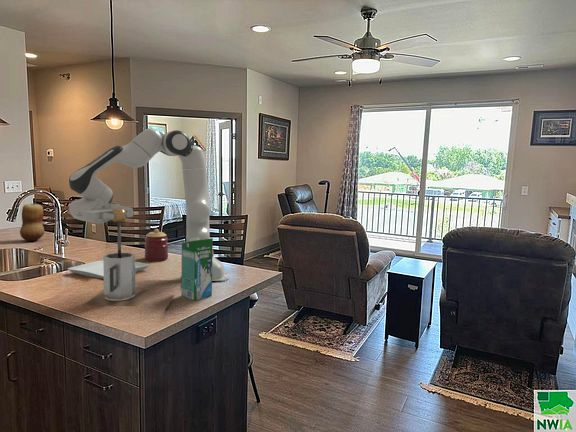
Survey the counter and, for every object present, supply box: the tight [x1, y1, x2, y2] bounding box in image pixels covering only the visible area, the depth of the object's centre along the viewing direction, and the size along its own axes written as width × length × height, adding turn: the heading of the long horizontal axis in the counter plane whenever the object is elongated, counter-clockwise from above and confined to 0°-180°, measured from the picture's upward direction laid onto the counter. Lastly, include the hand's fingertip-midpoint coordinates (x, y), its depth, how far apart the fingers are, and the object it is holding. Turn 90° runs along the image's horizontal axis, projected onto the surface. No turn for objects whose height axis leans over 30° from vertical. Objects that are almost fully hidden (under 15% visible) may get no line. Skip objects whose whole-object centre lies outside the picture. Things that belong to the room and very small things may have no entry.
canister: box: [144, 228, 169, 262], centre depth 224 cm, size 13×13×18 cm
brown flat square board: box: [83, 288, 153, 307], centre depth 155 cm, size 20×20×2 cm
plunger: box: [112, 209, 126, 258], centre depth 153 cm, size 8×8×24 cm
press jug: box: [102, 252, 136, 302], centre depth 153 cm, size 11×14×17 cm
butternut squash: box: [19, 203, 45, 242], centre depth 260 cm, size 14×13×25 cm
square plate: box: [67, 259, 150, 280], centre depth 194 cm, size 27×27×4 cm
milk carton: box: [180, 237, 214, 302], centre depth 163 cm, size 9×9×25 cm
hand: (120, 215), depth 151 cm, fingers closed on plunger, 4 cm apart
